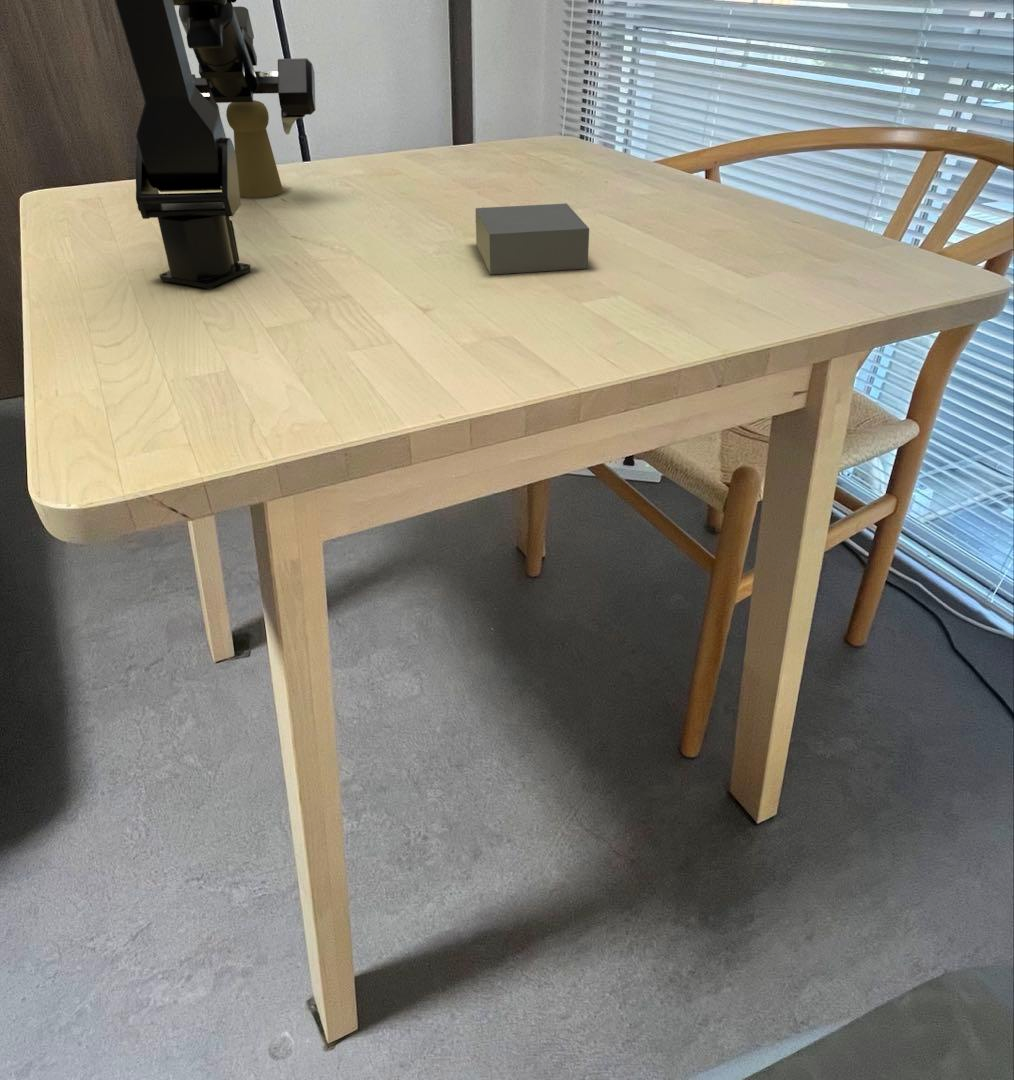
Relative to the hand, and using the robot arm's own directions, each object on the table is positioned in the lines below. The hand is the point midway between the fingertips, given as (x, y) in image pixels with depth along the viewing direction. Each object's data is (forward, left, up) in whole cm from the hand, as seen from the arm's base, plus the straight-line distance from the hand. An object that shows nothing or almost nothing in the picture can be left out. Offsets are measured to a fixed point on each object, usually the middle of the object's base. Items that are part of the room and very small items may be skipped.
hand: (251, 131), depth 112 cm
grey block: (-12, -45, -7) cm, 47 cm away
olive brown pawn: (-1, 0, -7) cm, 8 cm away
